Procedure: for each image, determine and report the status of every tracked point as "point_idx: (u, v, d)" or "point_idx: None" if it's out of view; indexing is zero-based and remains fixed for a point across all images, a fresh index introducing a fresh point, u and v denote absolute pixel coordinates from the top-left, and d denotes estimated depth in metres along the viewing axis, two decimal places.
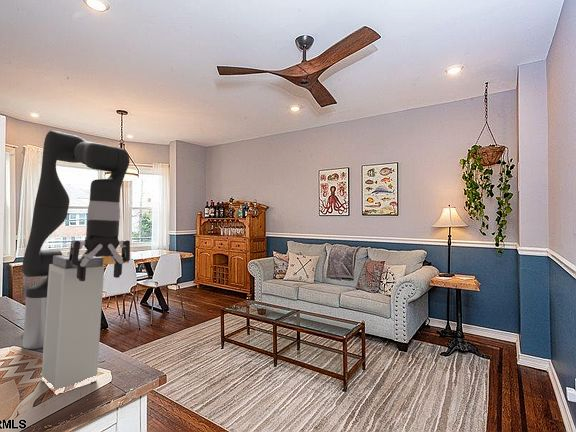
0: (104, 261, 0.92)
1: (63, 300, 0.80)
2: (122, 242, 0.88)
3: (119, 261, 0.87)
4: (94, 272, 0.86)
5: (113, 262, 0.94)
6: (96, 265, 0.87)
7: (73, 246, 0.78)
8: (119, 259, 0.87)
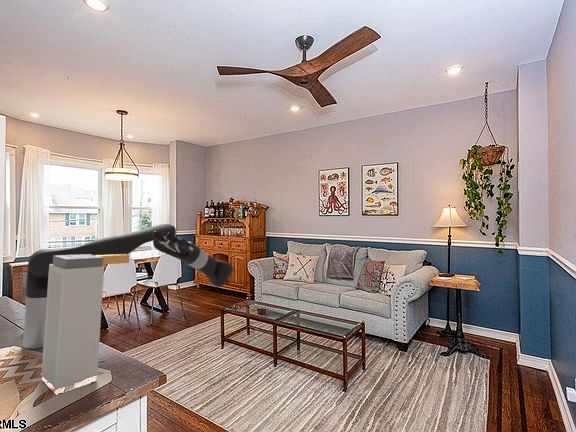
0: (104, 261, 0.92)
1: (63, 300, 0.80)
2: None
3: None
4: (94, 272, 0.86)
5: (113, 262, 0.94)
6: (96, 265, 0.87)
7: None
8: None
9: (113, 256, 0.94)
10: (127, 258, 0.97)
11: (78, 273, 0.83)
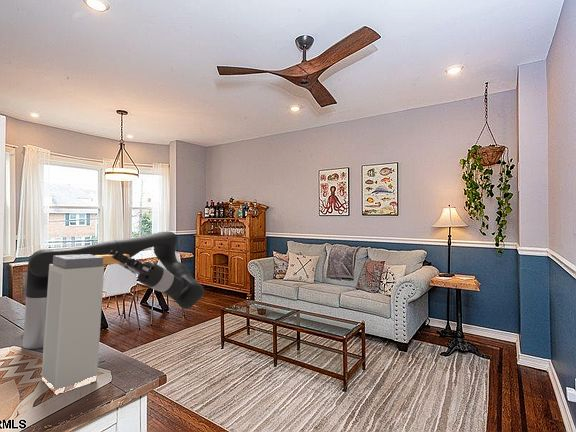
0: (104, 261, 0.92)
1: (63, 300, 0.80)
2: None
3: None
4: (94, 272, 0.86)
5: (113, 262, 0.94)
6: (96, 265, 0.87)
7: None
8: None
9: None
10: None
11: (78, 273, 0.83)
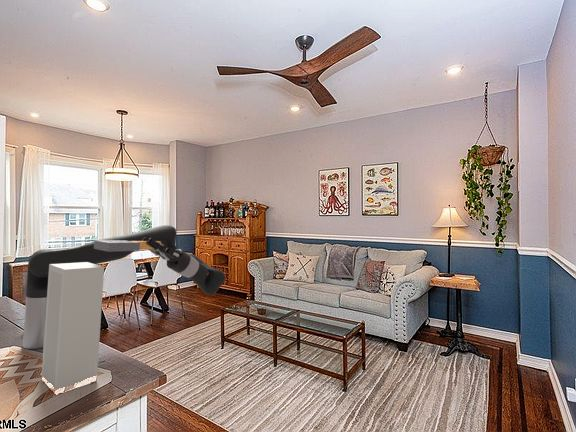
0: (139, 246, 1.00)
1: (63, 300, 0.80)
2: None
3: None
4: (94, 272, 0.86)
5: (147, 248, 1.02)
6: (134, 249, 0.95)
7: None
8: None
9: None
10: None
11: (78, 273, 0.83)
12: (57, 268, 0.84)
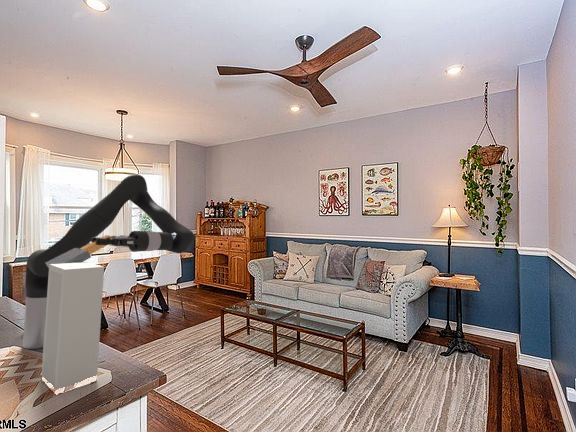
0: (91, 250, 1.01)
1: (63, 300, 0.80)
2: None
3: None
4: (94, 272, 0.86)
5: (99, 247, 1.03)
6: (85, 259, 0.97)
7: None
8: (114, 238, 1.06)
9: None
10: None
11: (78, 273, 0.83)
12: (57, 268, 0.84)
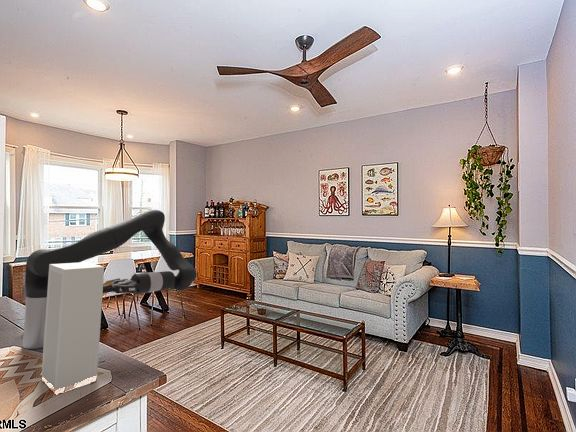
0: None
1: (63, 300, 0.80)
2: None
3: (113, 284, 1.07)
4: (94, 272, 0.86)
5: None
6: None
7: None
8: (116, 284, 1.07)
9: None
10: None
11: (78, 273, 0.83)
12: (57, 268, 0.84)
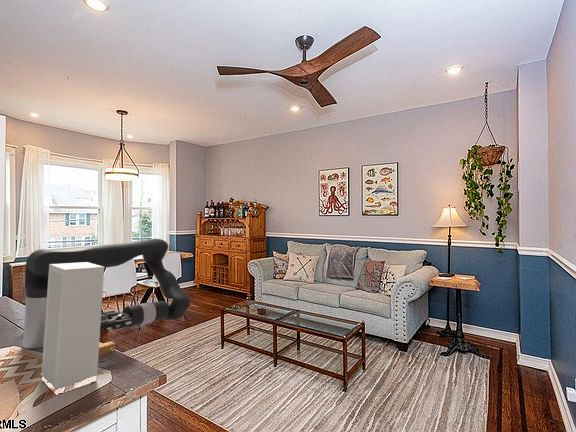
0: None
1: (63, 300, 0.80)
2: None
3: (110, 320, 1.04)
4: (94, 272, 0.86)
5: (100, 353, 1.04)
6: None
7: None
8: (112, 319, 1.04)
9: (100, 348, 1.04)
10: (113, 347, 1.07)
11: (78, 273, 0.83)
12: (57, 268, 0.84)
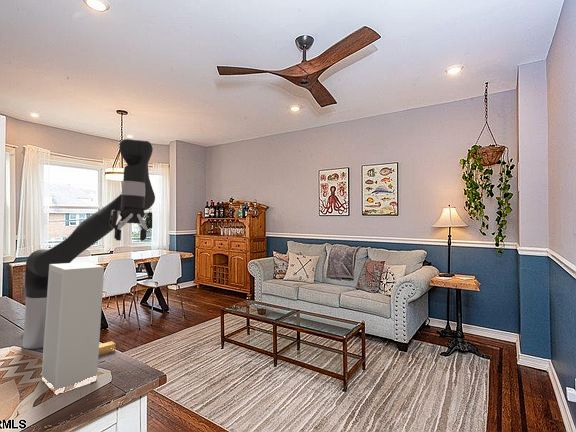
0: None
1: (63, 300, 0.80)
2: None
3: None
4: (94, 272, 0.86)
5: (100, 353, 1.04)
6: None
7: None
8: None
9: (100, 348, 1.04)
10: (113, 347, 1.07)
11: (78, 273, 0.83)
12: (57, 268, 0.84)
